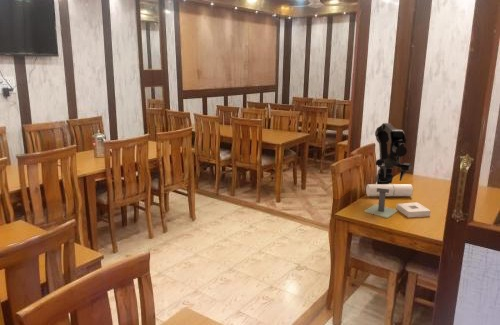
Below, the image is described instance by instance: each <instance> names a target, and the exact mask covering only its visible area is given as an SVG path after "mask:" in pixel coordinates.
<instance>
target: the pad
mask: <svg viewBox="0 0 500 325" xmlns="http://www.w3.org/2000/svg"><path fill="white" fill-rule="evenodd" d="M378 206H379V204H373V205H372V206H370V207H369V208H366V209H365V210H364V211H363V212H364V213H366V214H369V213H370V214H369V215H373V214H374V215H373V216H377V217H381V218H384V219H389V218H391V217H392V216H393V215H394V214H396V213H397V212H399V211H398V210H397V209H395V208H390V207H387V206H384V212H381V211H378Z"/></svg>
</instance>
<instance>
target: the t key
mask: <svg viewBox="0 0 500 325" xmlns="http://www.w3.org/2000/svg"><path fill="white" fill-rule="evenodd" d="M377 192H380V194H379V196H378V205H379V206H378V211H381V212H384V207H386V206H385V202H386V196H385V195H386V193H389V189H381V188H377Z"/></svg>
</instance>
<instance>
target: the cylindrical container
mask: <svg viewBox="0 0 500 325" xmlns="http://www.w3.org/2000/svg"><path fill="white" fill-rule="evenodd" d="M365 188H366V189H365V192H366V196H367V197H379V194H380V192H377V188H381V189H389V193H386V195H385V197H412V196H413V192H414V188H413V185H412V184H411V183H408V184H407V183H406V184H405V183H403V184H402V183H400V184H399V183H397V184H396V183H389V184H377V183H373V184H372V183H371V184H369V183H367V184H366V186H365Z"/></svg>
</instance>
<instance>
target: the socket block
mask: <svg viewBox="0 0 500 325" xmlns="http://www.w3.org/2000/svg"><path fill="white" fill-rule="evenodd" d="M395 210H398V212H400V213H401V214H402V215H405V217H407V218H408V219H409V218H422V217H423V218H424V217H431V210H430V209H429V208H427V207H426V206H424V205H423V204H421V203H419V202H406V203H405V202H403V203H396V209H395Z"/></svg>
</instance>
